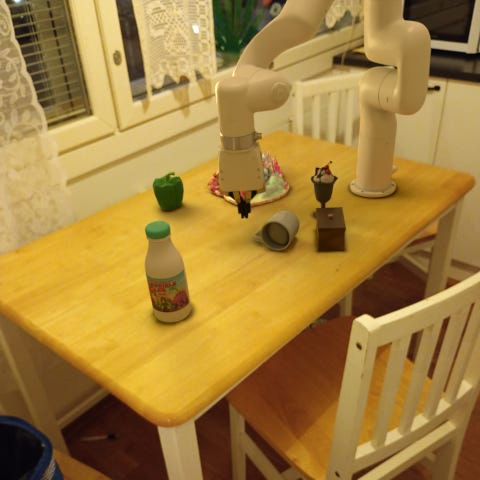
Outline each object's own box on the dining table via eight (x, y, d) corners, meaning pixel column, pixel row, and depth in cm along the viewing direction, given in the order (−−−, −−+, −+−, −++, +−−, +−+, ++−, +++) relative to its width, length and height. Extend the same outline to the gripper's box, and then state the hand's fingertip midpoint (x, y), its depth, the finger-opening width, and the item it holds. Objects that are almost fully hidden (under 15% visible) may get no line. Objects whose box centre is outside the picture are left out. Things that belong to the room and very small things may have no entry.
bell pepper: (150, 211, 147) (144, 177, 141) (164, 198, 153) (159, 165, 147) (177, 214, 144) (171, 180, 138) (190, 201, 150) (185, 168, 144)
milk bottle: (155, 303, 112) (137, 218, 99) (191, 299, 112) (178, 214, 100) (153, 325, 106) (134, 238, 93) (191, 321, 106) (177, 233, 94)
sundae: (335, 221, 135) (337, 164, 126) (309, 220, 136) (309, 164, 127) (336, 209, 140) (339, 154, 131) (311, 208, 141) (312, 154, 132)
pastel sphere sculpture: (193, 188, 157) (190, 157, 152) (251, 164, 169) (249, 135, 163) (251, 212, 142) (249, 180, 136) (309, 184, 154) (309, 153, 148)
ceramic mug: (301, 236, 130) (301, 208, 125) (291, 253, 124) (290, 223, 119) (261, 231, 133) (259, 203, 129) (249, 247, 128) (247, 218, 123)
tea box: (317, 251, 124) (318, 225, 120) (315, 230, 132) (316, 205, 128) (344, 251, 123) (346, 225, 119) (340, 229, 131) (342, 204, 127)
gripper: (272, 131, 116) (276, 207, 127) (206, 135, 118) (215, 210, 129) (272, 144, 110) (276, 222, 122) (201, 148, 112) (212, 225, 123)
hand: (245, 215), depth 125 cm, fingers closed
